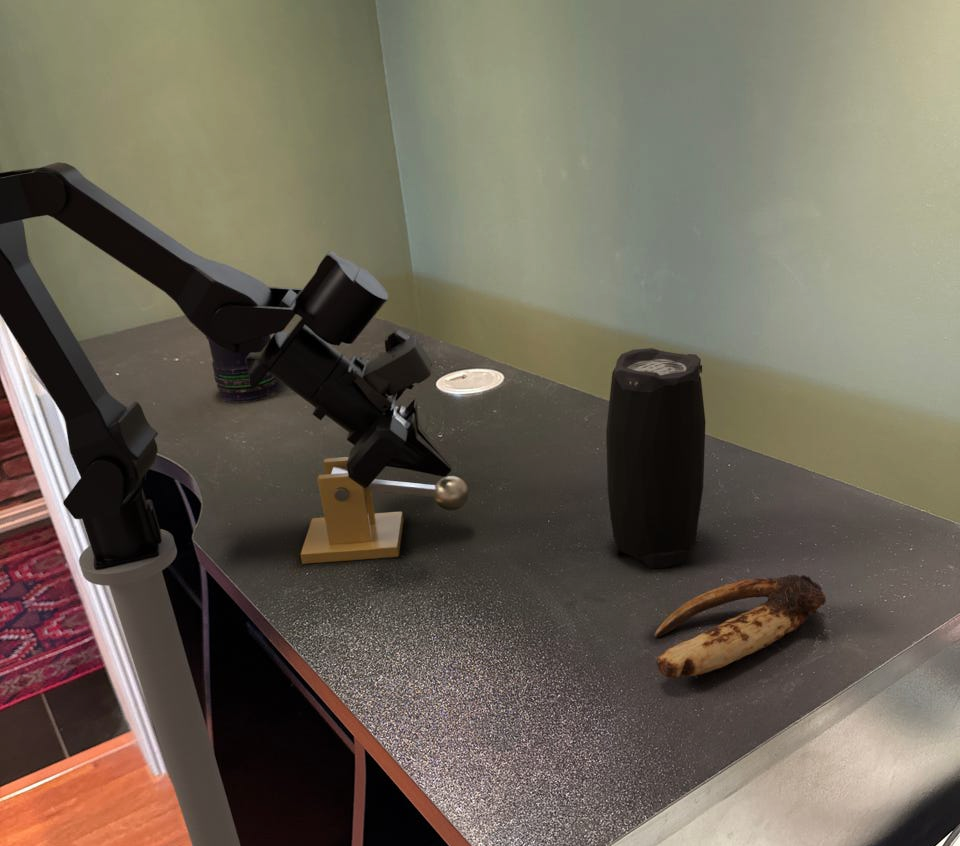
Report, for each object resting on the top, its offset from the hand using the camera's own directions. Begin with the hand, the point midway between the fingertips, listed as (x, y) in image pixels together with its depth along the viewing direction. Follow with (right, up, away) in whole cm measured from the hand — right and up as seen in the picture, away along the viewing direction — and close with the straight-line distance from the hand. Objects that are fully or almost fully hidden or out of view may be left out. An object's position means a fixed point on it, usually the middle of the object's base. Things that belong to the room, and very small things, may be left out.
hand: (448, 472), depth 94 cm
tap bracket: (-10, -7, +4) cm, 13 cm away
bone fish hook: (+24, -15, -17) cm, 33 cm away
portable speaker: (+21, -8, -3) cm, 22 cm away
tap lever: (-5, -3, +2) cm, 6 cm away
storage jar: (-33, +16, +50) cm, 62 cm away
